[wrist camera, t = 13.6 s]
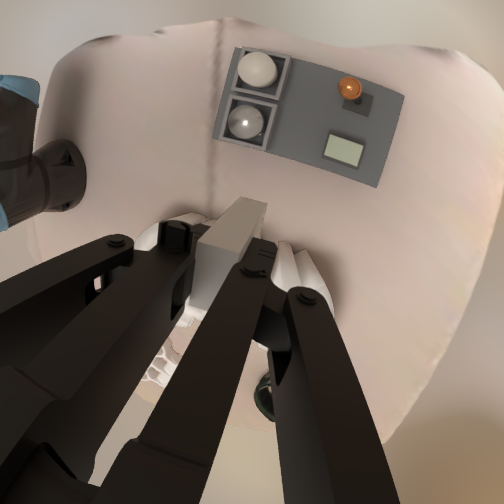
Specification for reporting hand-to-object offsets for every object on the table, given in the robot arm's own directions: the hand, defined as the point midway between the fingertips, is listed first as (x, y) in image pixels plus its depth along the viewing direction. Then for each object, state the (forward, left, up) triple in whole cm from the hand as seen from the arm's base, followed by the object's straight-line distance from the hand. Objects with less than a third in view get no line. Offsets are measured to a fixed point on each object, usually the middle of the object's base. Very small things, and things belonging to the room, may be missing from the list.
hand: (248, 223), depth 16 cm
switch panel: (0, +8, -29) cm, 30 cm away
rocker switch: (+6, +5, -25) cm, 26 cm away
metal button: (-7, +5, -25) cm, 26 cm away
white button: (-7, +12, -24) cm, 27 cm away
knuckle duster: (-18, -49, -30) cm, 60 cm away
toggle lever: (+6, +12, -25) cm, 28 cm away
